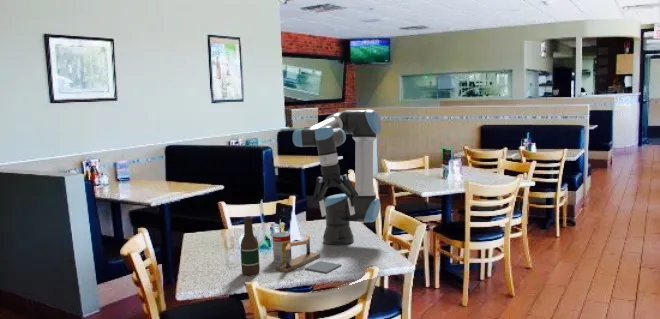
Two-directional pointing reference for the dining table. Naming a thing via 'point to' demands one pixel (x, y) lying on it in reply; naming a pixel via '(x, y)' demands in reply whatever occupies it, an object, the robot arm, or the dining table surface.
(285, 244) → the canned food
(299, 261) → the wooden frame rack
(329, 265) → the charcoal mat
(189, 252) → the dining table surface
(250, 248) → the beer bottle
